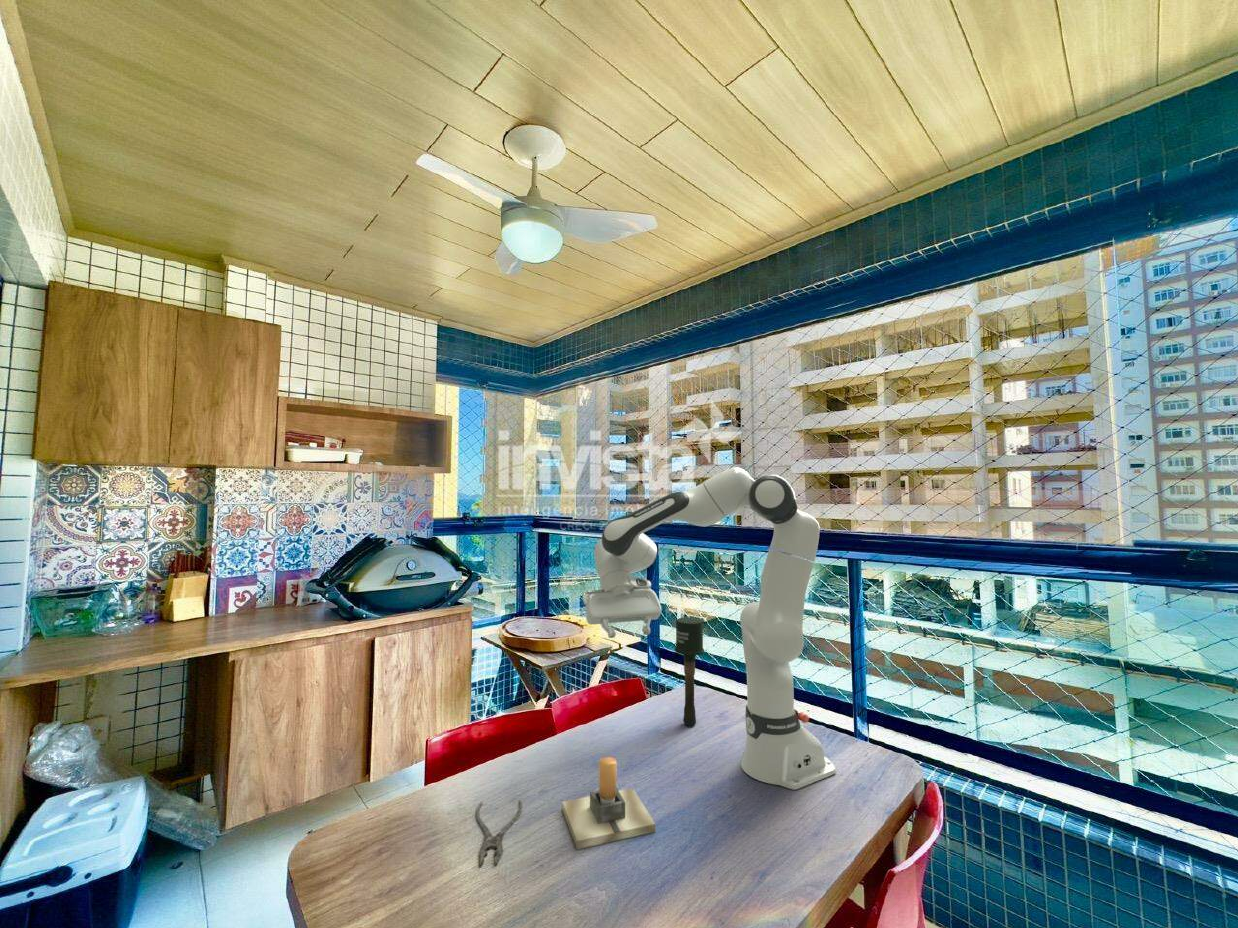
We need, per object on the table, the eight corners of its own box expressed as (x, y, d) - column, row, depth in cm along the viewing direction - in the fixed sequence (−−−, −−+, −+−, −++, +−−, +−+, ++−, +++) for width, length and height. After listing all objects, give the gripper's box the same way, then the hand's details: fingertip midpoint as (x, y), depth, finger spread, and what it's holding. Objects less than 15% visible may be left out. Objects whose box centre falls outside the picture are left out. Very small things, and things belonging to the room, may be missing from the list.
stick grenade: (673, 717, 152) (673, 616, 154) (702, 718, 152) (702, 616, 154) (676, 730, 144) (675, 623, 146) (706, 731, 144) (706, 623, 145)
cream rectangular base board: (632, 794, 113) (632, 773, 113) (655, 831, 101) (655, 807, 101) (562, 808, 108) (562, 786, 108) (577, 849, 96) (577, 824, 96)
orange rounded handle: (613, 804, 107) (613, 755, 107) (618, 815, 103) (618, 764, 104) (596, 808, 105) (597, 758, 106) (601, 818, 102) (602, 767, 103)
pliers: (520, 794, 112) (533, 854, 93) (520, 798, 112) (533, 859, 93) (475, 802, 109) (479, 866, 90) (474, 806, 109) (479, 871, 90)
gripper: (583, 584, 133) (593, 631, 123) (655, 580, 139) (670, 625, 130) (578, 598, 137) (588, 645, 127) (649, 593, 143) (662, 638, 134)
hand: (630, 635), depth 128 cm, fingers open, 8 cm apart
